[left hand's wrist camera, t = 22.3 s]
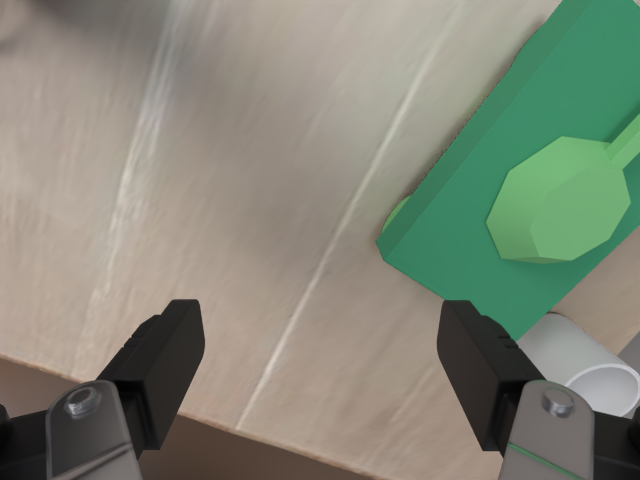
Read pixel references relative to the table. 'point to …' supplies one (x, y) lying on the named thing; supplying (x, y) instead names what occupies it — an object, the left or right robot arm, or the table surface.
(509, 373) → the left robot arm
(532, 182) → the toy tank
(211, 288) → the table surface
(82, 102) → the table surface
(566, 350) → the mug
